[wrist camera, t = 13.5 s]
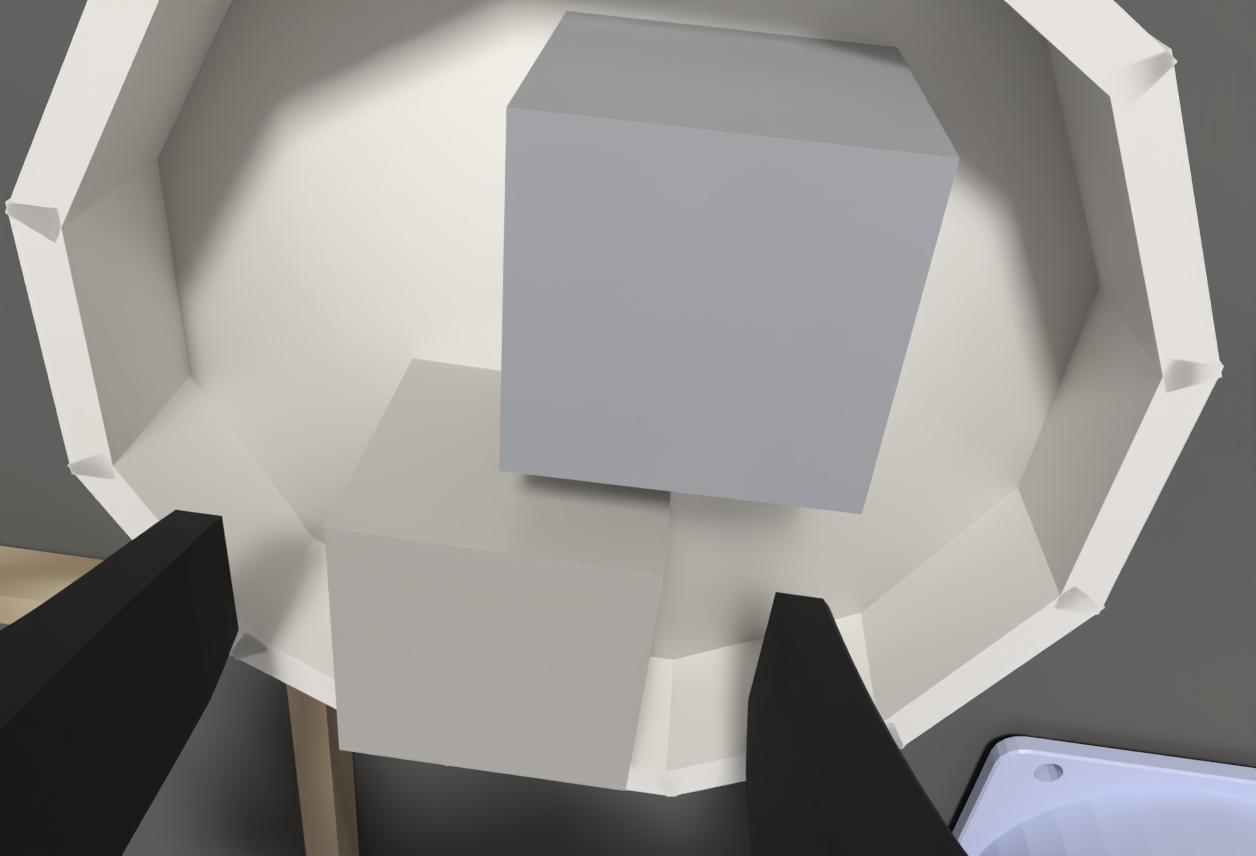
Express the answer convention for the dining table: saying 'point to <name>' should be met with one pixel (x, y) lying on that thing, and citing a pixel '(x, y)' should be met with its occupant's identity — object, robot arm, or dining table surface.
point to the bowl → (472, 321)
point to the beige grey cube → (488, 596)
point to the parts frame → (27, 578)
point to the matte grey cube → (713, 258)
